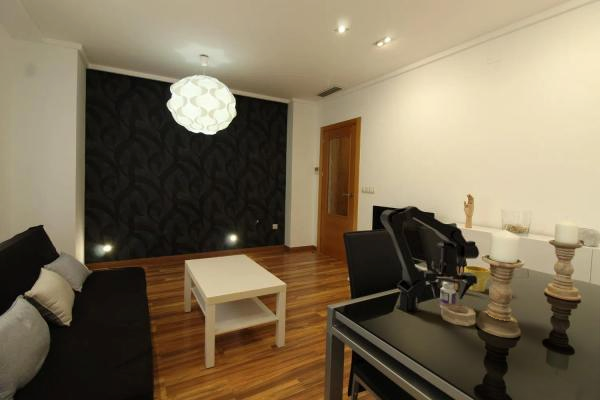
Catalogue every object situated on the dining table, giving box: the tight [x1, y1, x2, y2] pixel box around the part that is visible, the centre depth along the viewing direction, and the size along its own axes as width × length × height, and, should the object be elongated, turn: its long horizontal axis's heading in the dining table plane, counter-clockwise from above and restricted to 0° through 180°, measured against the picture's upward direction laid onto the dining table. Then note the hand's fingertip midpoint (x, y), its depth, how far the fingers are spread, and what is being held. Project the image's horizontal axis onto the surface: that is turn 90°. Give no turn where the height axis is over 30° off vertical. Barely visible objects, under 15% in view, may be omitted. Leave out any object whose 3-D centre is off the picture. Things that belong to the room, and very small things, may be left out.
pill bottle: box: [439, 281, 457, 309], centre depth 116 cm, size 5×5×10 cm
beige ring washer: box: [440, 303, 477, 327], centre depth 106 cm, size 10×10×4 cm
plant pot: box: [463, 265, 491, 293], centre depth 138 cm, size 10×10×10 cm
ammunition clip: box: [437, 266, 464, 294], centre depth 137 cm, size 11×2×12 cm, turn 45°
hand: (447, 298), depth 116 cm, fingers open, 9 cm apart
